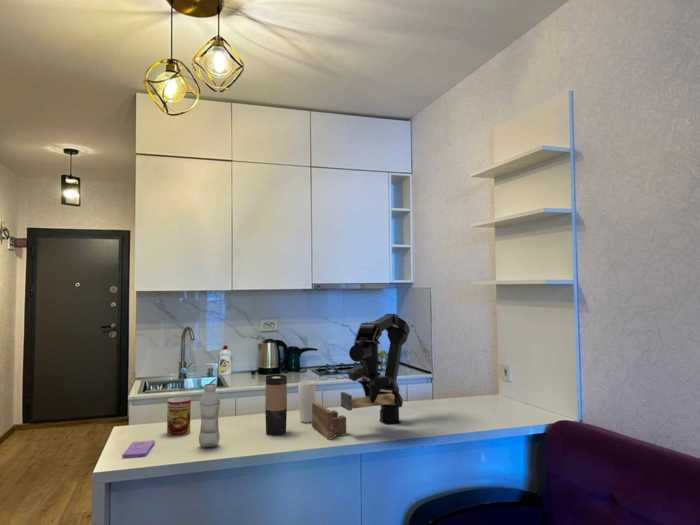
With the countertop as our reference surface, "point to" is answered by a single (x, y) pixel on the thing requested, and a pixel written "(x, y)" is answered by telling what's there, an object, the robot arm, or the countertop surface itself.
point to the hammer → (364, 401)
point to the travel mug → (276, 404)
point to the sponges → (138, 449)
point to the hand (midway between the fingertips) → (370, 401)
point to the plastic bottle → (209, 417)
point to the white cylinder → (306, 399)
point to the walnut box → (327, 421)
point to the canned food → (178, 416)
